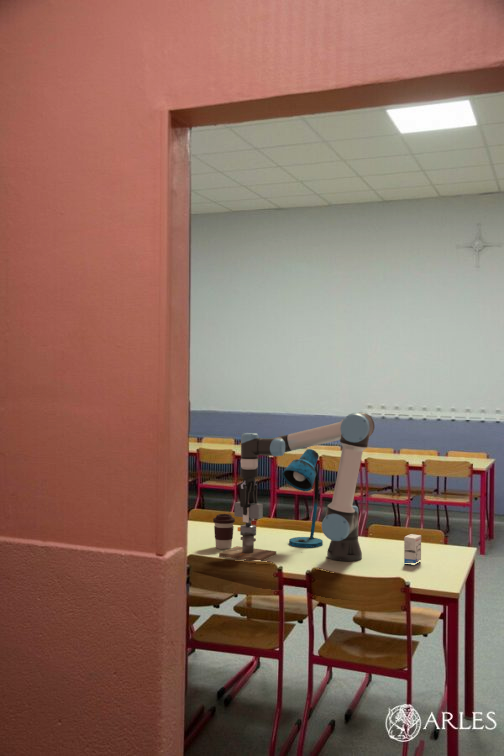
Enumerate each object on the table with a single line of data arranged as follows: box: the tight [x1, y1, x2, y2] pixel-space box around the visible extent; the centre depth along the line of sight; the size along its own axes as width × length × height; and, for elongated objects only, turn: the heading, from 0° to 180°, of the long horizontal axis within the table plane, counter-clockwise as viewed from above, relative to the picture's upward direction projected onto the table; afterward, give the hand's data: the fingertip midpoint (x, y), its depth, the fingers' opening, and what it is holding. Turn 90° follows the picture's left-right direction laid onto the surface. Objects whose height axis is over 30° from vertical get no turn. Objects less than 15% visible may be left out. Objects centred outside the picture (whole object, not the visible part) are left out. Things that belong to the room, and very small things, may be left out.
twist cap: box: [233, 501, 264, 537], centre depth 328 cm, size 12×7×14 cm, turn 62°
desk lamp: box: [281, 448, 324, 549], centre depth 352 cm, size 16×22×45 cm
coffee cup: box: [212, 513, 236, 550], centre depth 343 cm, size 10×10×15 cm
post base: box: [218, 536, 277, 561], centre depth 328 cm, size 20×16×9 cm
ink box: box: [403, 533, 422, 564], centre depth 318 cm, size 9×5×12 cm, turn 148°
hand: (248, 521), depth 328 cm, fingers closed on twist cap, 4 cm apart
